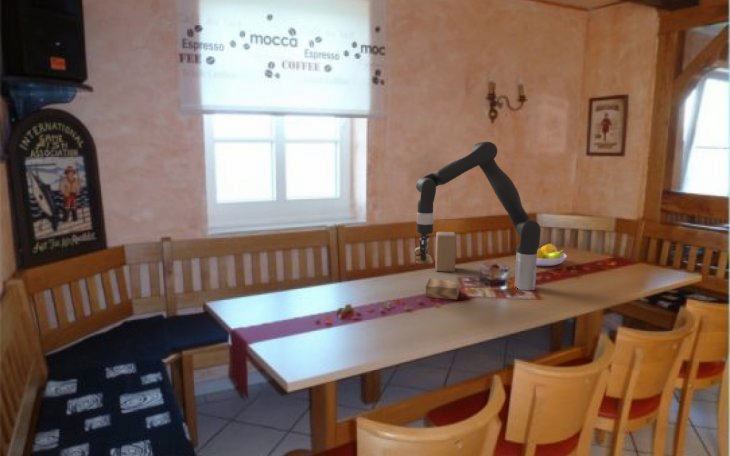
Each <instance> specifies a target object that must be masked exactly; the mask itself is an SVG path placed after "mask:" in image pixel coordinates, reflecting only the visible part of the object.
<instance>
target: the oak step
mask: <svg viewBox="0 0 730 456" xmlns="http://www.w3.org/2000/svg"><path fill="white" fill-rule="evenodd" d="M459 291H460V280H448V279H447V280H446V279H435V278H434V279H433V278H431V277H430V278H428V280H427V282H426V285H425V298H435V299H445V300H446V299H449V300H458V297H459Z"/></svg>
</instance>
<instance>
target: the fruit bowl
mask: <svg viewBox="0 0 730 456" xmlns="http://www.w3.org/2000/svg"><path fill="white" fill-rule="evenodd" d="M567 257H568V255H567V254H566V253H565V252H564V249H562V250H560V251H558V249H557V246H555V245H554V244H552V243H547V244H544V245H543V246H541V247H540V248H538V250H537V260H536V267H554V266H556V265H559V264H562V263H564V261H565V259H567Z"/></svg>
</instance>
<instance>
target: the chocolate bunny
mask: <svg viewBox="0 0 730 456" xmlns="http://www.w3.org/2000/svg"><path fill="white" fill-rule="evenodd" d="M427 248H428V249H429V247H427ZM427 248H426V249H427ZM422 249H424V248H422ZM414 255H415V259H416V264H419V265H432V264H434V260H433V258H432V256H431V255H430V254H428V253H427V254H426V260H425V261H421V252H420V246H418V247H415V249H414Z"/></svg>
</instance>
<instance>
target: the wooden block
mask: <svg viewBox="0 0 730 456" xmlns="http://www.w3.org/2000/svg"><path fill="white" fill-rule="evenodd" d="M456 249H457V236H456V233H455V232H454V231H437V232H436V236H435V271H436V272H444V273H445V272H446V273H448V272H449V273H454V272H455V271H456V270H455V269H456Z"/></svg>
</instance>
